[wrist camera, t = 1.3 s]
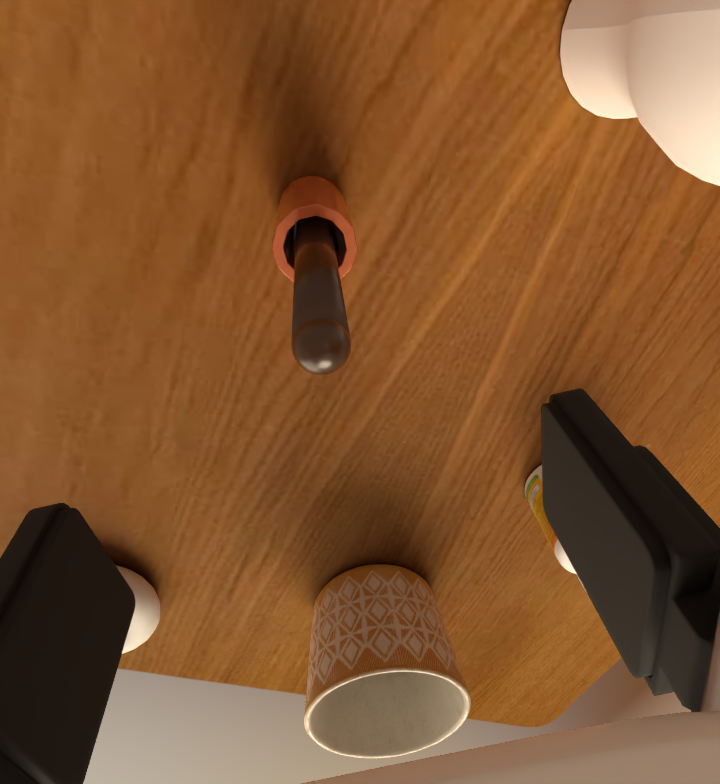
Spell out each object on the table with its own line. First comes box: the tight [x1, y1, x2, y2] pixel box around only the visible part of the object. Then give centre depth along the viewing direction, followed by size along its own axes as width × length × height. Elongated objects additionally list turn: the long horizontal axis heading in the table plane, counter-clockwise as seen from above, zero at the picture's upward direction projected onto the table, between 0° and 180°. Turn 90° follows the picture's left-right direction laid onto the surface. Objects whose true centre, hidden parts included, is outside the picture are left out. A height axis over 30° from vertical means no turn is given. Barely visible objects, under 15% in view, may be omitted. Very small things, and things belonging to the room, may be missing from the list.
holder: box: [272, 176, 358, 282], centre depth 27 cm, size 4×4×7 cm
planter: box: [304, 564, 471, 758], centre depth 45 cm, size 13×13×10 cm
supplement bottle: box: [525, 465, 586, 591], centre depth 39 cm, size 5×5×10 cm
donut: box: [116, 565, 160, 653], centre depth 44 cm, size 10×4×10 cm
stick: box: [292, 216, 351, 375], centre depth 23 cm, size 2×2×17 cm
